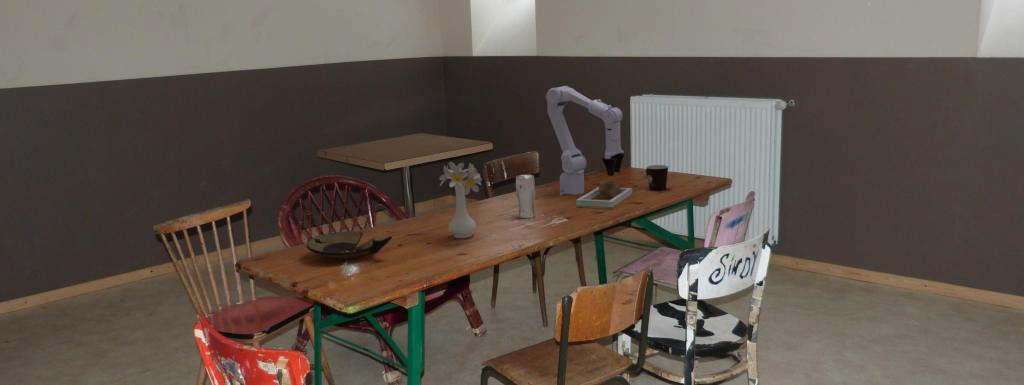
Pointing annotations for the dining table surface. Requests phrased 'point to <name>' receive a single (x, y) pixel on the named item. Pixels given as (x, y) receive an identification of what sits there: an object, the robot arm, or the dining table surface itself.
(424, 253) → the dining table surface
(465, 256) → the dining table surface
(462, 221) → the flower vase
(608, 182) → the cardboard box
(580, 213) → the dining table surface
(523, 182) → the beer glass
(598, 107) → the robot arm
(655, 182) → the coffee mug
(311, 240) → the oil lamp
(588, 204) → the bay
